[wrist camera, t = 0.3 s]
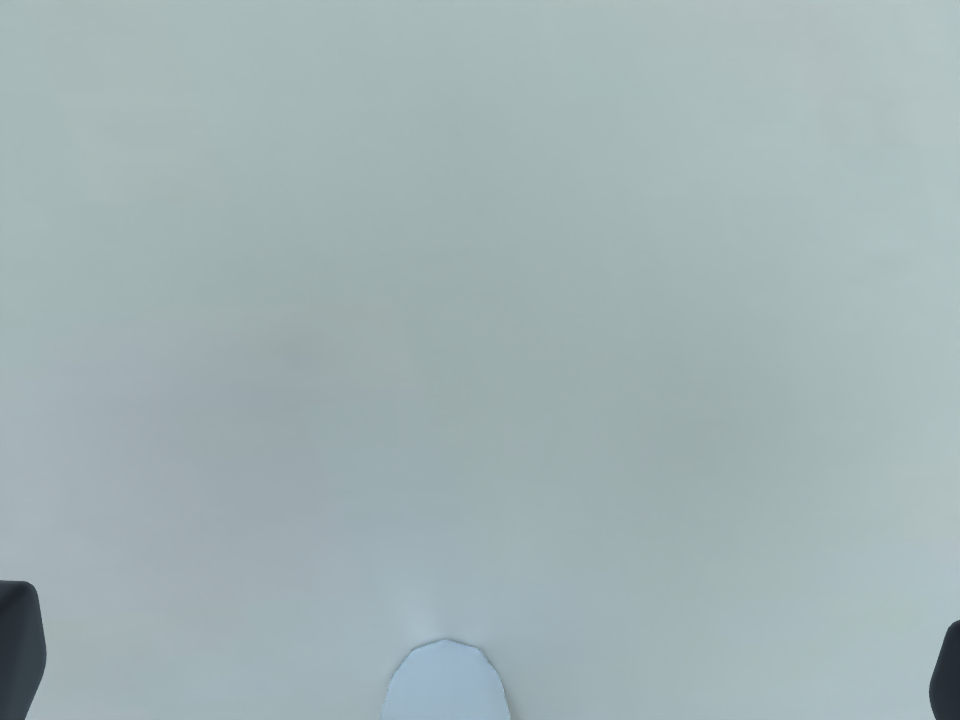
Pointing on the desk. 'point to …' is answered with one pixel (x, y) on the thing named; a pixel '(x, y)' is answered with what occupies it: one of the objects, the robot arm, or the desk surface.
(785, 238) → the desk surface
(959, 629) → the robot arm
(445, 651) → the milkshake
